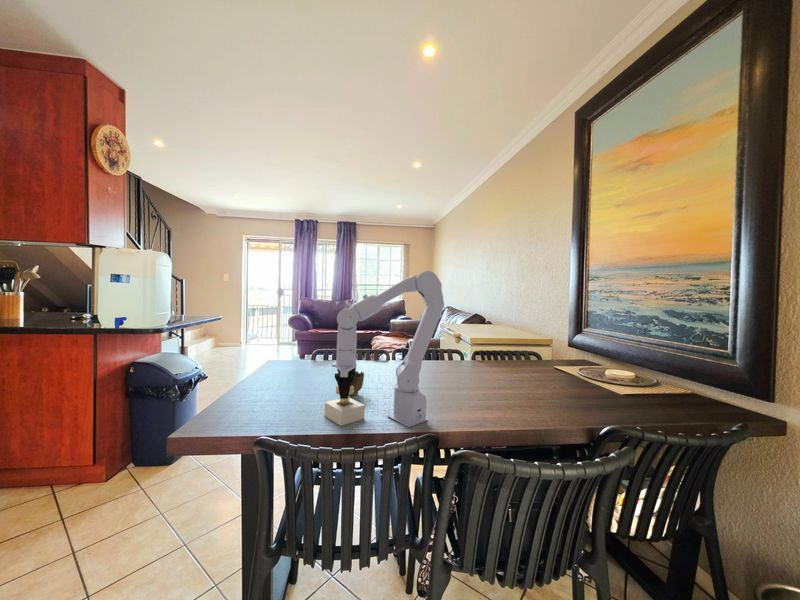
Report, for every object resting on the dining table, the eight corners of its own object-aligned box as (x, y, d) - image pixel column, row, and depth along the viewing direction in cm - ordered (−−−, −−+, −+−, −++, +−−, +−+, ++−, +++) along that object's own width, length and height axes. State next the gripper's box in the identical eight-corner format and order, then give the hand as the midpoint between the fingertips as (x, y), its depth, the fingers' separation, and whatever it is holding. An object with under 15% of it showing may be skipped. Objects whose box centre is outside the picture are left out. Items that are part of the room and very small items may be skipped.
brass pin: (356, 404, 92) (357, 387, 92) (341, 408, 88) (342, 391, 88) (347, 399, 96) (347, 383, 96) (332, 403, 92) (332, 386, 92)
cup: (367, 394, 113) (368, 372, 113) (354, 400, 107) (355, 377, 106) (351, 390, 117) (352, 369, 117) (338, 395, 110) (339, 373, 110)
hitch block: (364, 418, 92) (364, 405, 92) (340, 425, 86) (341, 411, 86) (347, 409, 98) (347, 396, 98) (324, 415, 93) (324, 402, 93)
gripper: (335, 344, 98) (333, 387, 99) (329, 353, 84) (327, 403, 84) (357, 344, 99) (356, 387, 100) (356, 354, 85) (354, 403, 85)
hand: (344, 394), depth 92 cm, fingers closed on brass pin, 5 cm apart
